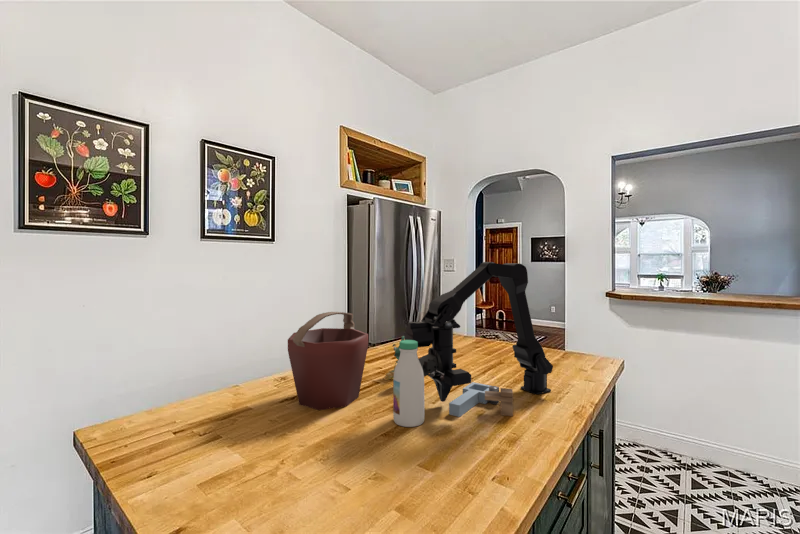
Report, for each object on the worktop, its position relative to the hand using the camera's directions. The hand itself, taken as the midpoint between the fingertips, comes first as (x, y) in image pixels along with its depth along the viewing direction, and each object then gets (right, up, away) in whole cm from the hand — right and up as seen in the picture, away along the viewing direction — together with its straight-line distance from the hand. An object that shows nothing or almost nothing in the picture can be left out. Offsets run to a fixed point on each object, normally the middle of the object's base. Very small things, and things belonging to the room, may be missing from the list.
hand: (442, 401), depth 106 cm
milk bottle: (-10, -2, -10) cm, 14 cm away
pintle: (+15, -1, +2) cm, 15 cm away
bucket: (-32, -2, +6) cm, 32 cm away
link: (+8, -1, +1) cm, 8 cm away
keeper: (+14, -1, -5) cm, 15 cm away
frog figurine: (-10, -1, +29) cm, 30 cm away
